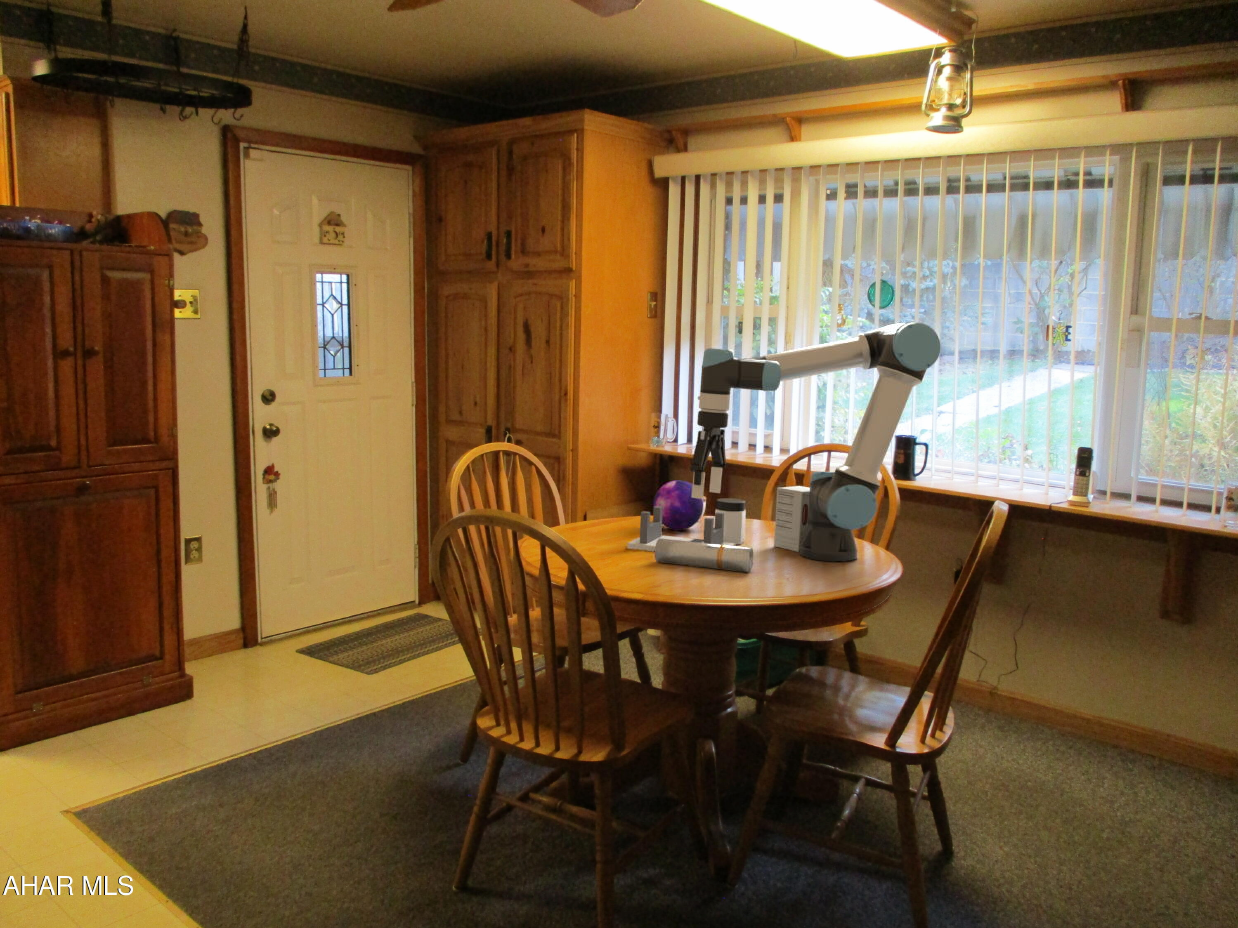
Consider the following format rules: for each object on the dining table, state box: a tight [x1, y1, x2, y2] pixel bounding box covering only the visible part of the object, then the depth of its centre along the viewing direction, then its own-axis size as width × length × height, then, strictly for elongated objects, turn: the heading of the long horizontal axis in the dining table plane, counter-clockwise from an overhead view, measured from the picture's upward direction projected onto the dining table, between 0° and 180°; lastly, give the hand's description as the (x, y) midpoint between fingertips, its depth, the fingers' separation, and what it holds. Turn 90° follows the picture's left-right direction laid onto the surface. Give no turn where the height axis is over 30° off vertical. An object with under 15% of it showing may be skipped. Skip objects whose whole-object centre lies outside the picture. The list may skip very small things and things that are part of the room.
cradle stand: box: [626, 506, 736, 552], centre depth 262 cm, size 26×15×10 cm, turn 68°
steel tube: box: [654, 538, 754, 573], centre depth 241 cm, size 24×6×6 cm, turn 68°
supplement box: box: [773, 485, 810, 553], centre depth 268 cm, size 10×9×17 cm
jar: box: [714, 497, 747, 545], centre depth 274 cm, size 9×8×12 cm
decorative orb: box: [653, 479, 703, 531], centre depth 290 cm, size 15×15×15 cm
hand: (706, 495), depth 241 cm, fingers open, 13 cm apart
